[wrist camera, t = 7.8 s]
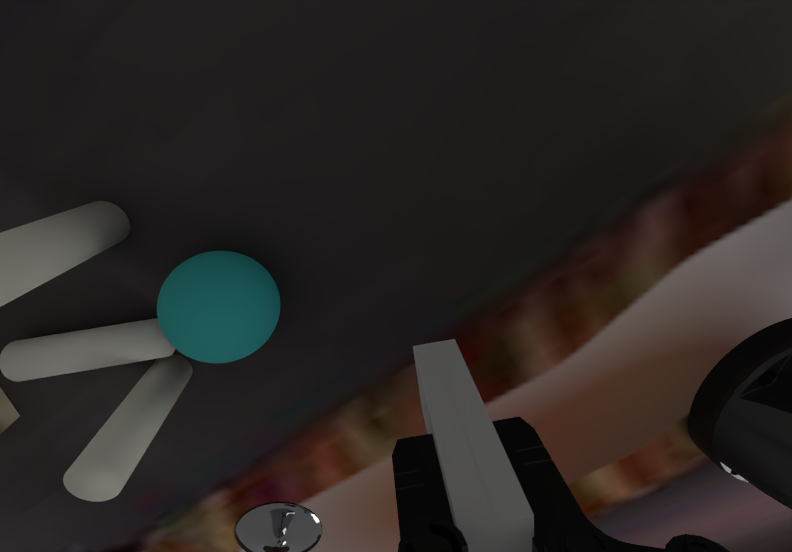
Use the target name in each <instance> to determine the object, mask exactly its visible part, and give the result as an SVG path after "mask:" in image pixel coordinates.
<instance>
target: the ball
mask: <svg viewBox="0 0 792 552" xmlns="http://www.w3.org/2000/svg"><path fill="white" fill-rule="evenodd" d="M279 315H280V295H279V291H278V288H277V286H276V283H275V281H274V279H273V278H272V276H271V275H270V274H269V272H268V271H267V270H266V269H265V268H264V267H263V266H262V265H261V264H259V263H258V262H257V261H255V260H253V259H252V258H250V257H248V256H245V255H243V254H240V253H236V252H231V251H211V252H205V253H202V254H198V255H196V256H193V257H191V258H189V259H188V260H186V261H184V262H183V263H181V264H180V265H179V266H177V267H176V268H175V269H174V270H173V271H172V272H171V273H170V274H169V276H168V277H167V279H166V280H165V282H164V283H163V285H162V287H161V290H160V293H159V296H158V301H157V317H158V322H159V325H160V328H161V330H162V332H163V334H164V336H165V337H166V339H167V340H168V341H169V343H170V344H171V345H172V346H173V347H174V348H176V349H177V350H178V351H179V352H181V353H182V354H184V355H185V356H187V357H190V358H192V359H194V360H198V361H201V362H207V363H227V362H231V361H236V360H239V359H241V358H244V357H246V356H248V355H250V354H252V353H253V352H255V351H256V350H257V349H259V348H260V347H261V346H262V345H263V344H264V343H265V342H266V341H267V340H268V339H269V337H270V336H271V334H272V333H273V331H274V329H275V327H276V325H277V322H278V319H279Z"/></svg>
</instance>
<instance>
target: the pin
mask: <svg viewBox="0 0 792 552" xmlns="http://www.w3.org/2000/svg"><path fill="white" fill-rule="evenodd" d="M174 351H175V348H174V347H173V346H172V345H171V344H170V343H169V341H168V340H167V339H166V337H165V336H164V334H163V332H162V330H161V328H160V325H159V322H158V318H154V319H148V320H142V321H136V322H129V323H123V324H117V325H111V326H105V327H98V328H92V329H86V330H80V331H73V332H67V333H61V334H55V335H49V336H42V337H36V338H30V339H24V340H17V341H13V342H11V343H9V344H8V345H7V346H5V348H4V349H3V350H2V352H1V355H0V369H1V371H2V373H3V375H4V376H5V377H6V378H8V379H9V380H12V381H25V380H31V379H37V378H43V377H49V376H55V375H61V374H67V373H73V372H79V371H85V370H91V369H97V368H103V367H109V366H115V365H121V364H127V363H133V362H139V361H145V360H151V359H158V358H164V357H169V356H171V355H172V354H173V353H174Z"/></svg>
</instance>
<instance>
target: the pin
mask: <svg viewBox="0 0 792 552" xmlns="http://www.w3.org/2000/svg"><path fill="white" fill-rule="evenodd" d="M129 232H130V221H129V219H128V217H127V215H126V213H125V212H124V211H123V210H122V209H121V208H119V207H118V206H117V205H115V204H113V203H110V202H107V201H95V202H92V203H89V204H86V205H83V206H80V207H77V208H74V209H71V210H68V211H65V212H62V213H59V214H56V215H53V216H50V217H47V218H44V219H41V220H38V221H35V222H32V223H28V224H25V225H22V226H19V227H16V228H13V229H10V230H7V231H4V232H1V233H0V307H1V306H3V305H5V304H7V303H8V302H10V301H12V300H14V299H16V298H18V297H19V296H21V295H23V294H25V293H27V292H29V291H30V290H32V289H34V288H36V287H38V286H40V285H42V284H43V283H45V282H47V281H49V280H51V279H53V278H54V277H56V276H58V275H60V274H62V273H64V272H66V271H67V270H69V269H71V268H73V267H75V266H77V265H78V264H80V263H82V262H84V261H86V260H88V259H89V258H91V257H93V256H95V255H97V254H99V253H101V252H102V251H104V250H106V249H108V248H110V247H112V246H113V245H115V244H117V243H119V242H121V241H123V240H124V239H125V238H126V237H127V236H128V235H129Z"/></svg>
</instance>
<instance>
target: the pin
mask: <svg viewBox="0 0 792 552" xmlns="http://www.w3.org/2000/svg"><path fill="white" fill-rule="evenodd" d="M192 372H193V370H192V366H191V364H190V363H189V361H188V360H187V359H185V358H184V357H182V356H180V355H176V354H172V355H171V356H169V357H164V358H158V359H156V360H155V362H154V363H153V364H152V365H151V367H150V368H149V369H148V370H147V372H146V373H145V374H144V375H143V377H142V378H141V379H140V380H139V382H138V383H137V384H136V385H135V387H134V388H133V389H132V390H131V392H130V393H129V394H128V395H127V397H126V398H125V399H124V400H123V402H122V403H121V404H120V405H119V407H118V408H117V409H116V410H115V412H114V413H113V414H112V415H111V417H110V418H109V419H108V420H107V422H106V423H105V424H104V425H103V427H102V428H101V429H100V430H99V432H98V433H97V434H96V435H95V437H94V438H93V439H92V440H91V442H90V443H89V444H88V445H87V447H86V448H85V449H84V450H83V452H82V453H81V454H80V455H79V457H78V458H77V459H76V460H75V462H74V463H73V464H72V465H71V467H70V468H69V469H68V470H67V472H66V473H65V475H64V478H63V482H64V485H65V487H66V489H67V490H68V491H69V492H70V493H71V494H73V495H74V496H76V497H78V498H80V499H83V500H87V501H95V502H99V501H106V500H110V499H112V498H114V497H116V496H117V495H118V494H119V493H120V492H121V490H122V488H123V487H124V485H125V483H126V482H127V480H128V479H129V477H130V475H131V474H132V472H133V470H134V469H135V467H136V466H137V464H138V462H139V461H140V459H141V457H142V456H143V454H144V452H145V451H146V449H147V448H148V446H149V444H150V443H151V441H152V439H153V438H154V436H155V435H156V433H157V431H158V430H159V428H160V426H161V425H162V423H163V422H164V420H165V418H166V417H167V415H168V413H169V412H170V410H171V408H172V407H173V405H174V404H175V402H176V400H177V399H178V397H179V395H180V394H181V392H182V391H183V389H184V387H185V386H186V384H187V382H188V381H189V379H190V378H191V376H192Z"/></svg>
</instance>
